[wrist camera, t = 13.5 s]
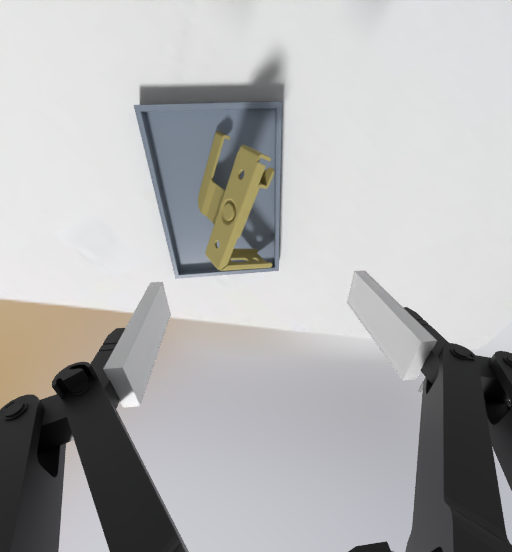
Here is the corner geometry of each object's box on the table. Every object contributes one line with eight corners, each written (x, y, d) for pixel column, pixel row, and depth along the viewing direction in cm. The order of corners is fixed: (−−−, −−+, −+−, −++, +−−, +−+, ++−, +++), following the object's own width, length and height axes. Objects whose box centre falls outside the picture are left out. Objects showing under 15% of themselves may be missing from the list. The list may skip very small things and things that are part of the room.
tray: (139, 107, 28) (133, 105, 27) (278, 103, 29) (281, 101, 28) (177, 272, 40) (175, 278, 38) (276, 265, 41) (278, 270, 39)
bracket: (235, 234, 42) (184, 231, 35) (266, 151, 35) (210, 127, 29) (270, 268, 37) (217, 272, 30) (316, 177, 30) (261, 154, 23)
